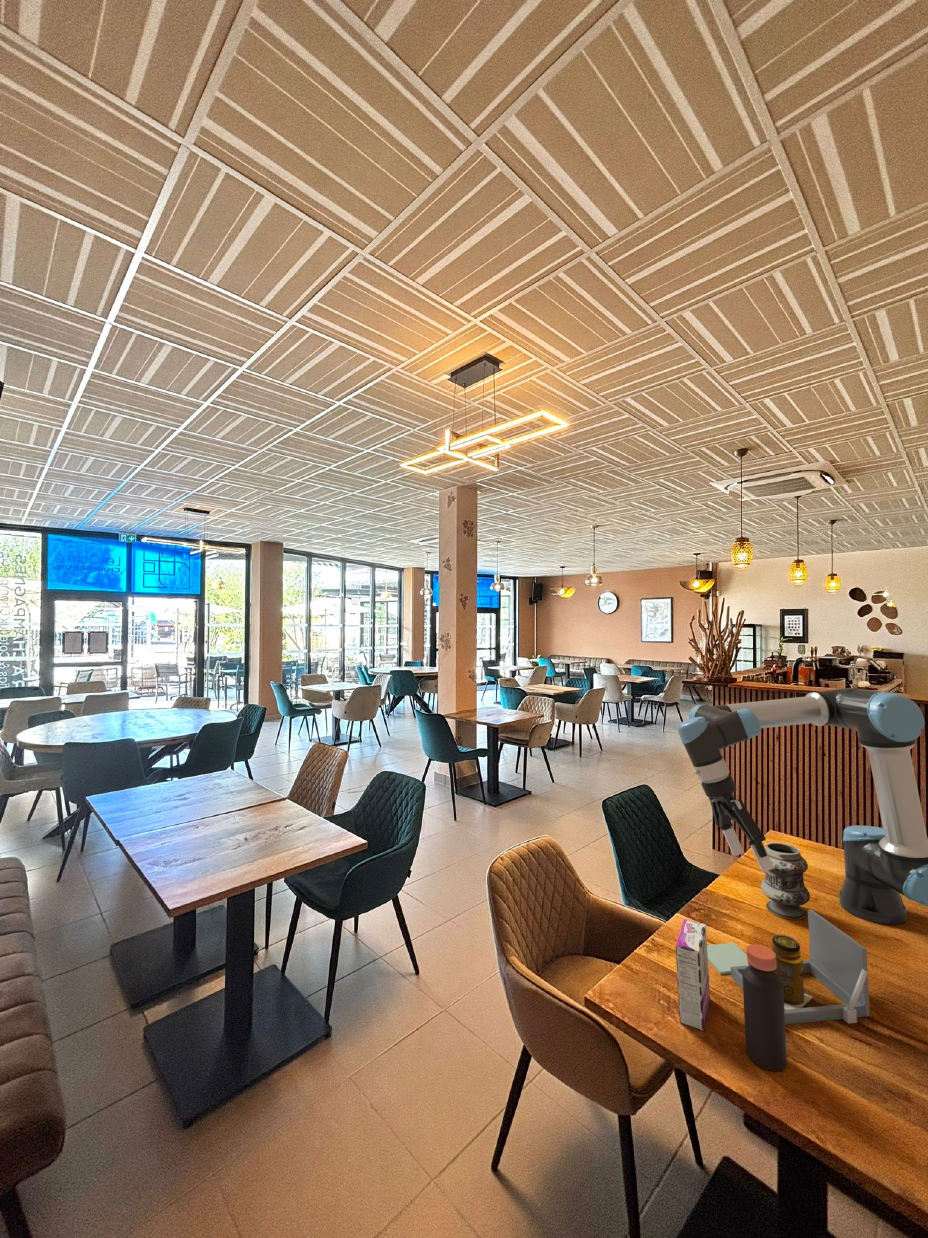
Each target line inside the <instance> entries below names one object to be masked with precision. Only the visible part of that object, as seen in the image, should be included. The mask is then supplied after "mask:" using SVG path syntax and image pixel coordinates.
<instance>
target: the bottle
mask: <svg viewBox="0 0 928 1238" xmlns="http://www.w3.org/2000/svg"><path fill="white" fill-rule="evenodd" d="M771 949H772V948H769V947H768V946H765V945H763V944H757V943H753V944H748V945H747V946H746V955H747V961H748V964H749V966H748V967H746V968H745V969H744V971H743V973H742V975H743V989H742V994H743V995H742V997H743V1012H744V1013H743V1015H744V1016H743V1019H744V1034H745V1035H744V1039H745V1052H746V1054H747V1057H748V1058H749V1059H750V1060H751V1061H752V1063H754V1064H756V1066H758V1067H760V1068H762V1069H763V1070H766V1071H769V1072H779V1071H783V1070H784V1069H785V1068H786V1067H787V1063H788V1061H787V1060H788V1059H787V1058H788V1057H787V1038H786V1034H787V1033H786V1025H785V1013H784V1010H785V1009H784V992H783V983H782V980H781V979H780V977H779V976H778V975H777V974H776V973H775V972H776V967H777V965H776V954H775V953H774V951H772V950H771Z"/></svg>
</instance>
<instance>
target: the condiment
mask: <svg viewBox="0 0 928 1238" xmlns="http://www.w3.org/2000/svg"><path fill="white" fill-rule="evenodd" d="M771 941H772V944H771V948H770V949H771V950H772V951H774V953H775V954H776V965H777V967H776V972H775V973H776V974H777V975H778V976H779V977H780V979H781V980H782V983H783V992H784V1010H789V1009H799V1008H804V1006H806V1005H807V1003H809V1002H810V1001H811V1000H812V998H813V996H812V995H809V994H807V993H805V985H804V984H805V983H804V973H803V960H804V959H803V956H802V953H801V946H800V943H799V941H797V940H796V939H794V938H793V937H790V936H789V935H785V934H777V935H774V936H773V937H772V939H771Z"/></svg>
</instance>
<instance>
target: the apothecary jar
mask: <svg viewBox="0 0 928 1238" xmlns="http://www.w3.org/2000/svg"><path fill="white" fill-rule="evenodd" d="M765 849H766V851H767V854H768V856H769V858H770V860H771V862H772V864H773V867H774V868H773V869H771V870H768V871H766V872H764V876H765V877H764V879H763V880H762V881H761V882H760V890H761V891H762V893H763V894H764V895H765V897H766V898H768V899H769V901H768V902H767V903H766V905H765V907H766V909H767V911H768V912H770V913H771V914H772V915H774V916H777V917H779V918H782V919H785V920H789V921H790V920H791V921H800V920H801V921H802V920H803V919H804V920H805V919H806V917H808V912H806V910H805V909H804V908H803V907H801V906H804V905H805V904H807V903H808V902H809V901H810V900H811V894H810V891H809V889H808V888H807V887H806V886H805V882H804V881H805V880H804V873H806V872H807V870H808V867H809V865H808V862H807V860H806V859H805V858H804V857H803V856H802V855H801V851H800V849H799V848H798V847H797V846H795V845H791V844H788V843H785V842H778V841H777V842H776V841H775V842H768V843H766V844H765Z"/></svg>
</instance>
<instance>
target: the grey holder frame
mask: <svg viewBox="0 0 928 1238" xmlns="http://www.w3.org/2000/svg"><path fill="white" fill-rule="evenodd" d="M807 917H808V921H807V923H808V939H809V957H810V959H802V960H803V974H807V973H809V974H811V975H812V976H813V977H814V978H816V979H817V980H818V981H819V982H820V983H821V984H822V985H824V987H826V988H827V989H828V990H829V991H830V992H831V993H833V994H834V995H835V996H836V997H837V998H838V999H839V1000H841V1001H842V1003H843V1004H831V1005H821V1006H811V1007H810V1006H809V1007H802V1008H799V1009H789V1010H786V1009H784V1013H785V1026H787V1025H793V1024H795V1025H796V1024H804V1023H814V1022H823V1021H835V1020H843V1021H844V1022H846V1023H847V1024H857V1023H858V1018H862V1017H870V1016H871V1011H870V1009H871V1008H870V995H869V992H870V991H869V971H868V953H867V950H868V949H867V947H865V946H864V945H862V944H861V943H859V942H858V941H856V939H854V938H852V937H851V936H850V935H848V934H847V933H845V931H843V930H841V929H840V928H838V926H836V925H834V924H833V923H831V922H830V921H828V920H827V919H826V918H825V917H823V916H821V915H820V914H819V913H817V912H816V911H814V910H813V909H807ZM748 966H749V965H748ZM748 966H737V967H731V974H730V977H731V978H732V979H733V981H734V982H735V983H736V984H737V985H738V986H739V987H740V988H741V990H743V975H742V973H743V971H744V969H745V968H746V967H748Z"/></svg>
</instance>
